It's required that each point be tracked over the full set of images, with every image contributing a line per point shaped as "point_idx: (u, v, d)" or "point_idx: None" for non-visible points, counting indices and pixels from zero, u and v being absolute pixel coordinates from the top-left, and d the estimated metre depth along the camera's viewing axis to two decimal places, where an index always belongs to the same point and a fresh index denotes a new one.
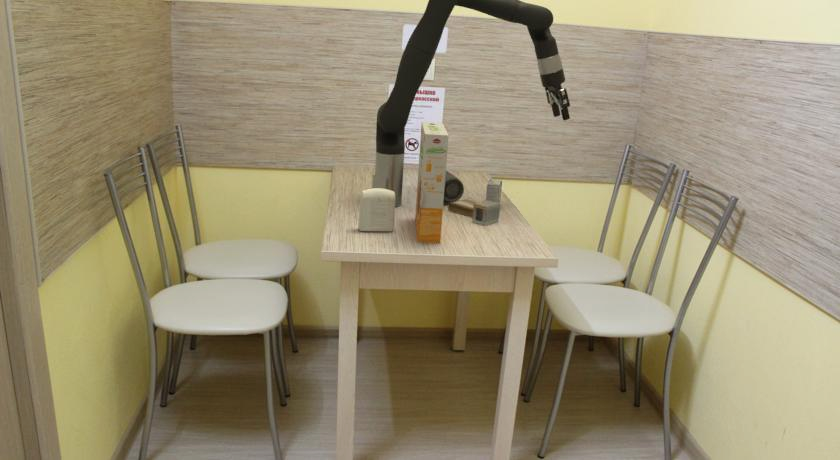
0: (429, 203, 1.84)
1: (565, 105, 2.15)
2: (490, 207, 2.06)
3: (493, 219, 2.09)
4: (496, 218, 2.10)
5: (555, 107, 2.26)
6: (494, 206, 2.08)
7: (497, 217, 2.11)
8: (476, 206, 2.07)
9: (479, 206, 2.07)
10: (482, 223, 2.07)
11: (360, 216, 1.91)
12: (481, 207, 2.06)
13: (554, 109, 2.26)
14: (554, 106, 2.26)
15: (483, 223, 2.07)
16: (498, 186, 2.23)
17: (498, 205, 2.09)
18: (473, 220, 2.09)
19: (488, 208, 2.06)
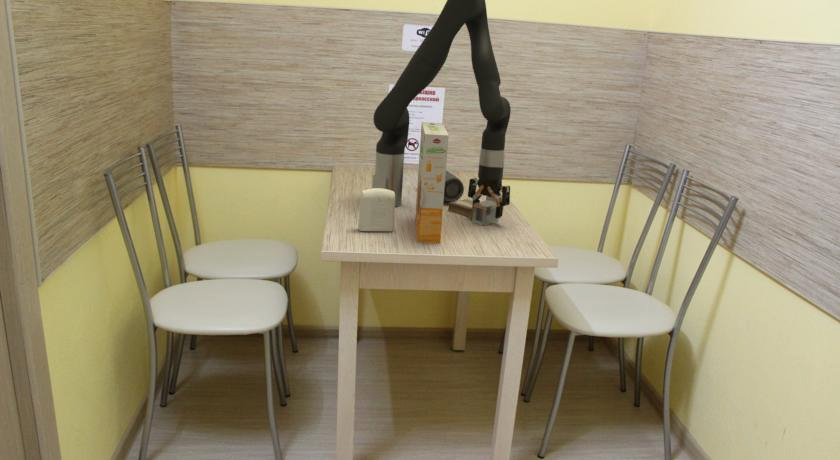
0: (429, 203, 1.84)
1: (506, 203, 2.04)
2: (490, 207, 2.06)
3: (493, 219, 2.09)
4: (496, 218, 2.10)
5: (477, 202, 2.11)
6: (494, 206, 2.08)
7: None
8: (476, 206, 2.07)
9: (479, 206, 2.07)
10: (482, 223, 2.07)
11: (360, 216, 1.91)
12: (481, 207, 2.06)
13: None
14: (477, 201, 2.11)
15: (483, 223, 2.07)
16: None
17: None
18: (473, 220, 2.09)
19: (488, 208, 2.06)
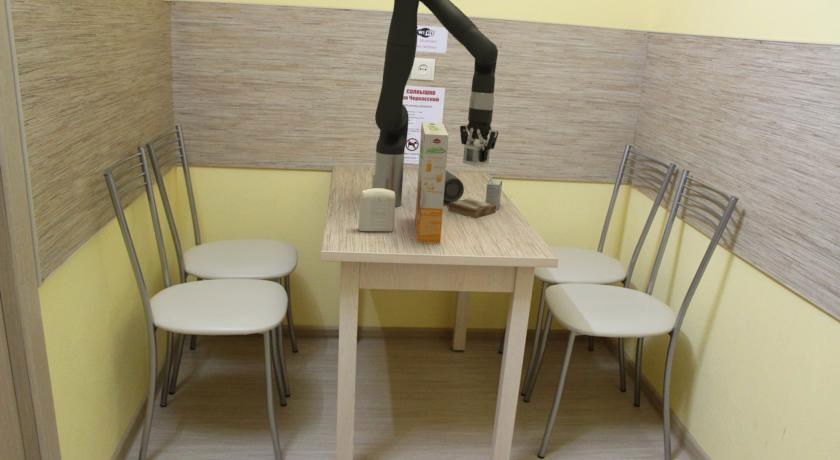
0: (429, 203, 1.84)
1: (491, 147, 2.11)
2: (480, 147, 2.12)
3: None
4: None
5: None
6: None
7: (487, 158, 2.16)
8: (467, 147, 2.13)
9: (469, 147, 2.12)
10: (472, 163, 2.13)
11: (360, 216, 1.91)
12: (471, 147, 2.12)
13: None
14: None
15: (473, 163, 2.13)
16: (498, 186, 2.23)
17: None
18: (464, 161, 2.15)
19: (478, 148, 2.11)
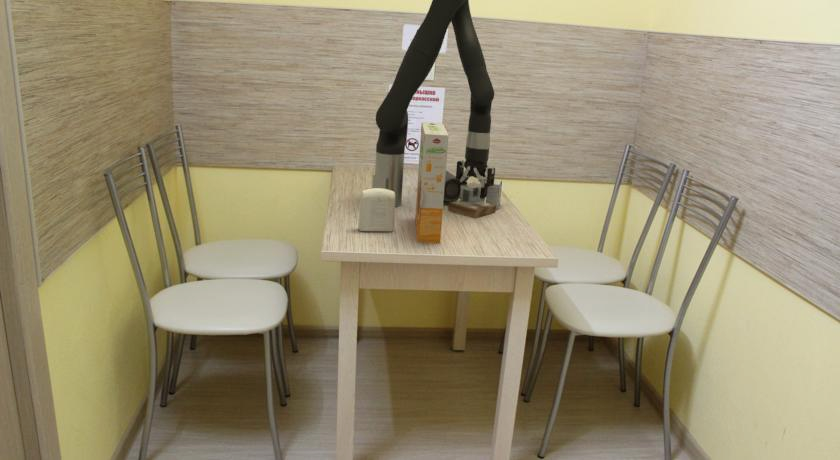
0: (429, 203, 1.84)
1: (490, 184, 2.14)
2: (476, 188, 2.16)
3: (479, 200, 2.19)
4: (482, 199, 2.20)
5: None
6: (480, 188, 2.18)
7: None
8: (463, 188, 2.17)
9: (466, 187, 2.16)
10: (469, 204, 2.17)
11: (360, 216, 1.91)
12: (468, 188, 2.16)
13: None
14: (464, 183, 2.21)
15: (469, 204, 2.17)
16: (498, 186, 2.23)
17: None
18: (460, 201, 2.19)
19: (474, 189, 2.15)
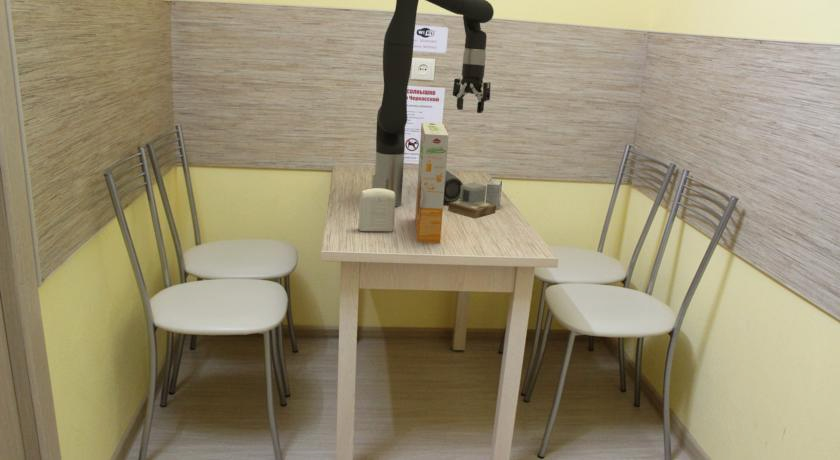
0: (429, 203, 1.84)
1: (487, 98, 2.26)
2: (476, 188, 2.16)
3: (479, 200, 2.19)
4: (482, 199, 2.20)
5: (461, 100, 2.33)
6: (480, 188, 2.18)
7: (483, 198, 2.20)
8: (463, 188, 2.17)
9: (466, 187, 2.16)
10: (469, 204, 2.17)
11: (360, 216, 1.91)
12: (468, 188, 2.16)
13: (460, 102, 2.33)
14: (460, 99, 2.33)
15: (469, 204, 2.17)
16: (498, 186, 2.23)
17: (484, 187, 2.19)
18: (460, 201, 2.19)
19: (474, 189, 2.15)
